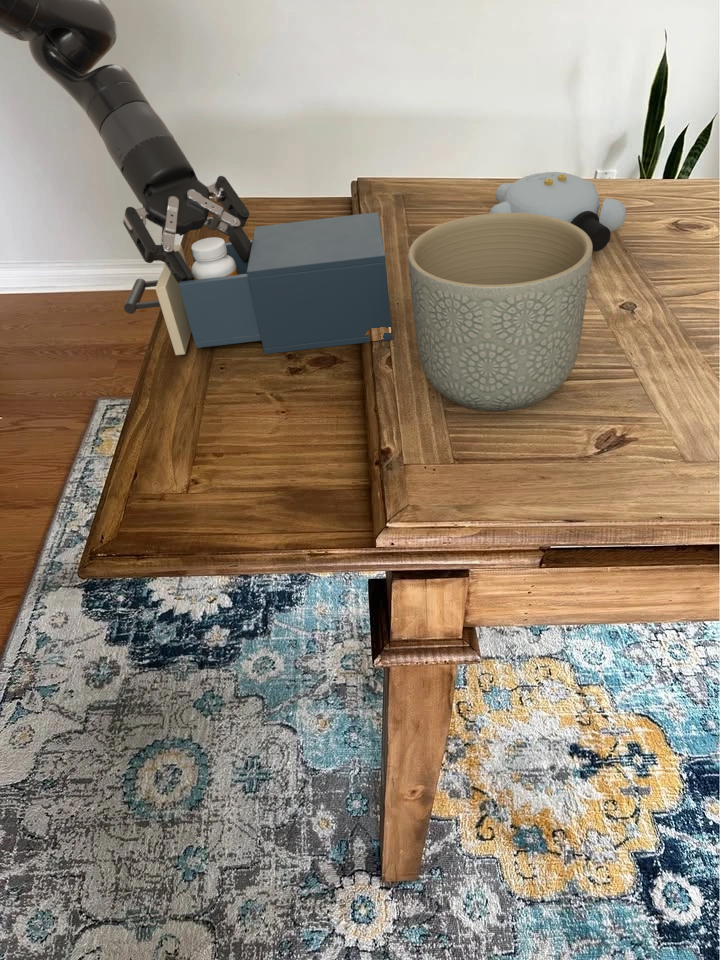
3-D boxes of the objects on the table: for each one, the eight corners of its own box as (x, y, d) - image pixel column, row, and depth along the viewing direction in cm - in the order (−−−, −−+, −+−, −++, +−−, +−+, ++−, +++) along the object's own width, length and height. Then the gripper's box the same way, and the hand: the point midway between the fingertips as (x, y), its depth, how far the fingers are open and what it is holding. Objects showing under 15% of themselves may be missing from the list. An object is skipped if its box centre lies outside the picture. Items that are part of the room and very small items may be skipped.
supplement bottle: (255, 310, 93) (239, 236, 87) (232, 330, 90) (214, 254, 83) (220, 305, 95) (202, 233, 89) (196, 325, 92) (176, 251, 86)
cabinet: (264, 354, 88) (246, 271, 82) (270, 303, 99) (255, 226, 92) (392, 339, 88) (385, 255, 81) (385, 290, 98) (378, 211, 91)
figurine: (464, 228, 110) (541, 289, 97) (467, 172, 104) (549, 229, 91) (560, 201, 115) (646, 256, 102) (568, 145, 109) (660, 196, 95)
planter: (519, 453, 69) (525, 304, 59) (384, 397, 78) (371, 260, 69) (608, 372, 77) (627, 230, 68) (478, 330, 87) (477, 201, 77)
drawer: (133, 360, 89) (110, 293, 83) (151, 313, 98) (131, 250, 93) (293, 342, 88) (281, 273, 82) (296, 296, 98) (285, 231, 92)
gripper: (192, 159, 93) (260, 266, 94) (89, 191, 87) (163, 307, 87) (204, 119, 87) (277, 235, 87) (95, 150, 80) (174, 276, 80)
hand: (220, 271), depth 87 cm, fingers open, 8 cm apart
